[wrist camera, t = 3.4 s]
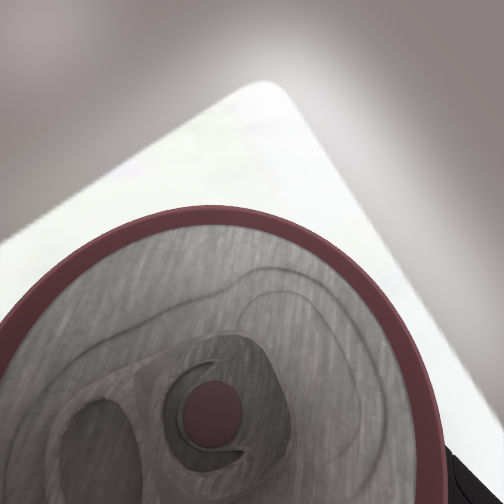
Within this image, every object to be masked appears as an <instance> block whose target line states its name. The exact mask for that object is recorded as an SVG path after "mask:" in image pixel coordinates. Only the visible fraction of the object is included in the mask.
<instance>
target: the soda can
mask: <svg viewBox="0 0 504 504" xmlns="http://www.w3.org/2000/svg"><path fill="white" fill-rule="evenodd" d="M0 504H448V474H447V461H446V450H445V443H444V436H443V429H442V424H441V419H440V414H439V410H438V406H437V402H436V398H435V394H434V391H433V388H432V385H431V382H430V379H429V376H428V373H427V370H426V367H425V365H424V362H423V360H422V357H421V355H420V353H419V351H418V348H417V346H416V344H415V342H414V340H413V338H412V336H411V334H410V332H409V331H408V329H407V327H406V325H405V323H404V322H403V320H402V318H401V317H400V315H399V314H398V312H397V311H396V309H395V307H394V306H393V305H392V303H391V302H390V301H389V299H388V298H387V296H386V295H385V294H384V292H383V291H382V290H381V289H380V288H379V286H378V285H377V284H376V283H375V282H374V281H373V279H372V278H371V277H370V276H369V275H368V274H367V273H366V272H365V271H364V270H363V269H362V268H361V267H360V266H359V265H358V264H357V263H356V262H354V261H353V260H352V259H351V258H350V257H349V256H347V255H346V254H345V253H344V252H342V251H341V250H340V249H339V248H337V247H336V246H334V245H333V244H332V243H330V242H329V241H327V240H326V239H324V238H322V237H321V236H319V235H317V234H316V233H314V232H312V231H310V230H308V229H306V228H304V227H302V226H300V225H298V224H296V223H293V222H291V221H288V220H286V219H283V218H280V217H278V216H274V215H271V214H268V213H264V212H260V211H256V210H252V209H247V208H241V207H234V206H223V205H201V206H189V207H182V208H176V209H171V210H166V211H162V212H158V213H155V214H151V215H148V216H145V217H142V218H139V219H136V220H133V221H131V222H128V223H126V224H123V225H121V226H119V227H117V228H114V229H112V230H110V231H108V232H106V233H104V234H102V235H101V236H99V237H97V238H95V239H93V240H92V241H90V242H88V243H87V244H85V245H83V246H82V247H80V248H79V249H77V250H76V251H74V252H73V253H71V254H70V255H69V256H67V257H66V258H65V259H63V260H62V261H61V262H59V263H58V264H57V265H56V266H55V267H53V268H52V269H51V270H50V271H49V272H47V273H46V274H45V275H44V276H43V277H42V278H41V279H40V280H39V281H38V282H36V283H35V284H34V285H33V286H32V287H31V288H30V289H29V290H28V291H27V292H26V294H25V295H24V296H23V297H22V298H21V299H20V300H19V301H18V302H17V303H16V304H15V306H14V307H13V308H12V309H11V310H10V312H9V313H8V314H7V315H6V317H5V318H4V319H3V320H2V322H1V323H0Z"/></svg>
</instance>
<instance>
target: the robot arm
mask: <svg viewBox="0 0 504 504" xmlns="http://www.w3.org/2000/svg"><path fill="white" fill-rule="evenodd" d="M445 450H446V461H447V474H448V504H503V503H502V502H501V501H500V500H499V499H498V498H497V497H496V496H495V495H494V494H493V493H492V492H491V491H490V490H489V489H488V488H487V487H486V486H485V485H484V484H483V483H482V482H481V481H480V480H479V479H478V478H477V477H476V476H475V475H474V474H473V473H472V472H471V471H470V470H469V469H468V468H467V467H466V466H465V465H464V464H463V463H462V462H461V461H460V460H459V459H458V458H457V457H456V456H455V455H452V452H451V451H450V450H449V448H448V447H447V446H446V445H445Z"/></svg>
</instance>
